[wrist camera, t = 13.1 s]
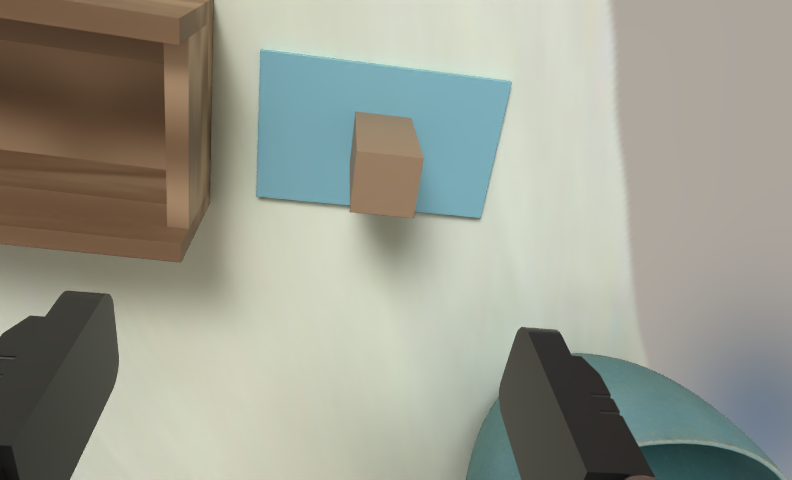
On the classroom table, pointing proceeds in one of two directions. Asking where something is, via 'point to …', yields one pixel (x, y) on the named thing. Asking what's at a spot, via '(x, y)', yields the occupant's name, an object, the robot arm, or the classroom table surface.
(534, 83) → the classroom table surface
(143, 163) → the brown wooden shelf box
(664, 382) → the plant pot
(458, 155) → the lid
